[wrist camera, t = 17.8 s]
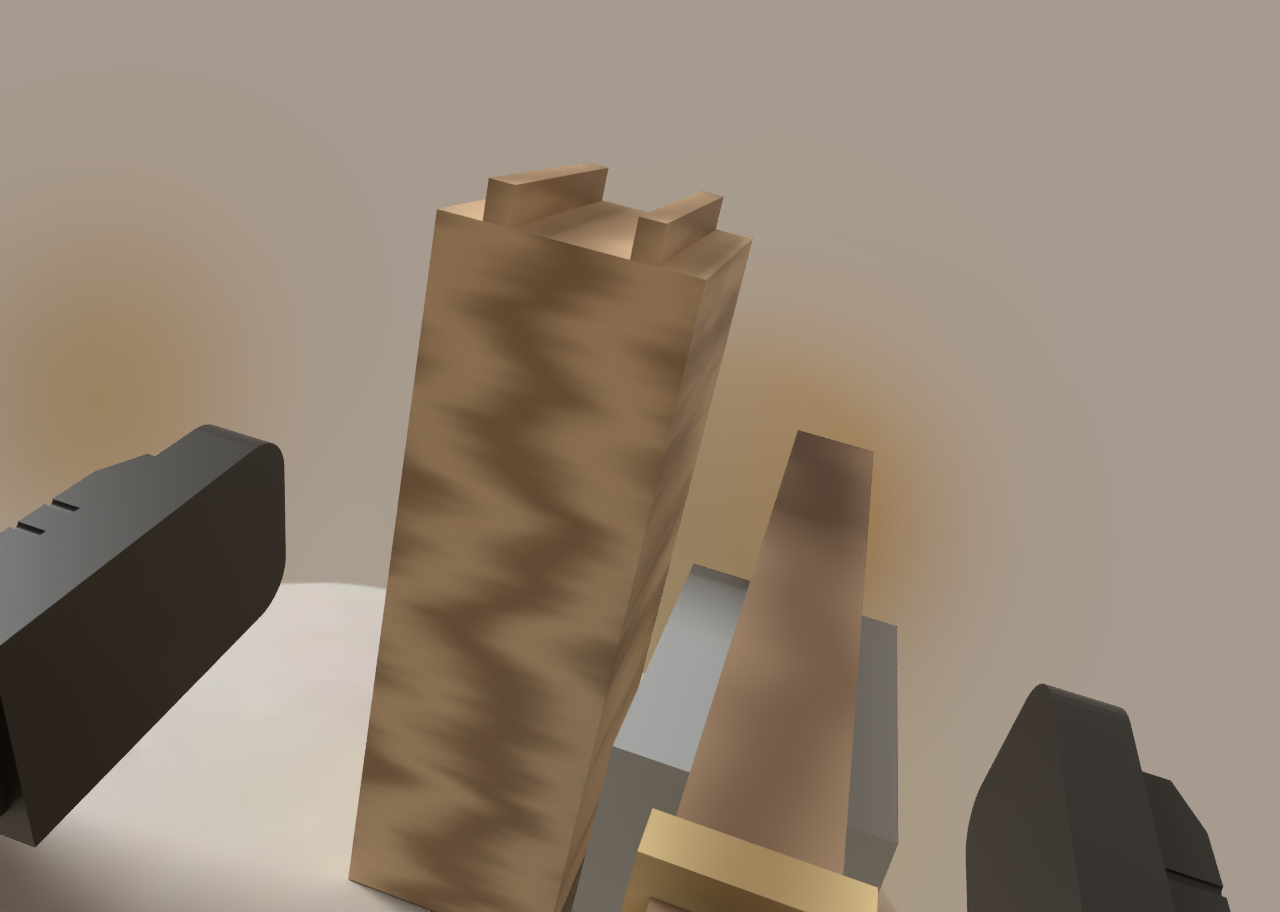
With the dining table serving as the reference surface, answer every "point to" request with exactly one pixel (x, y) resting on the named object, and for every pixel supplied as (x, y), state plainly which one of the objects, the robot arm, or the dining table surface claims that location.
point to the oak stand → (534, 528)
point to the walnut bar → (778, 718)
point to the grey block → (674, 721)
